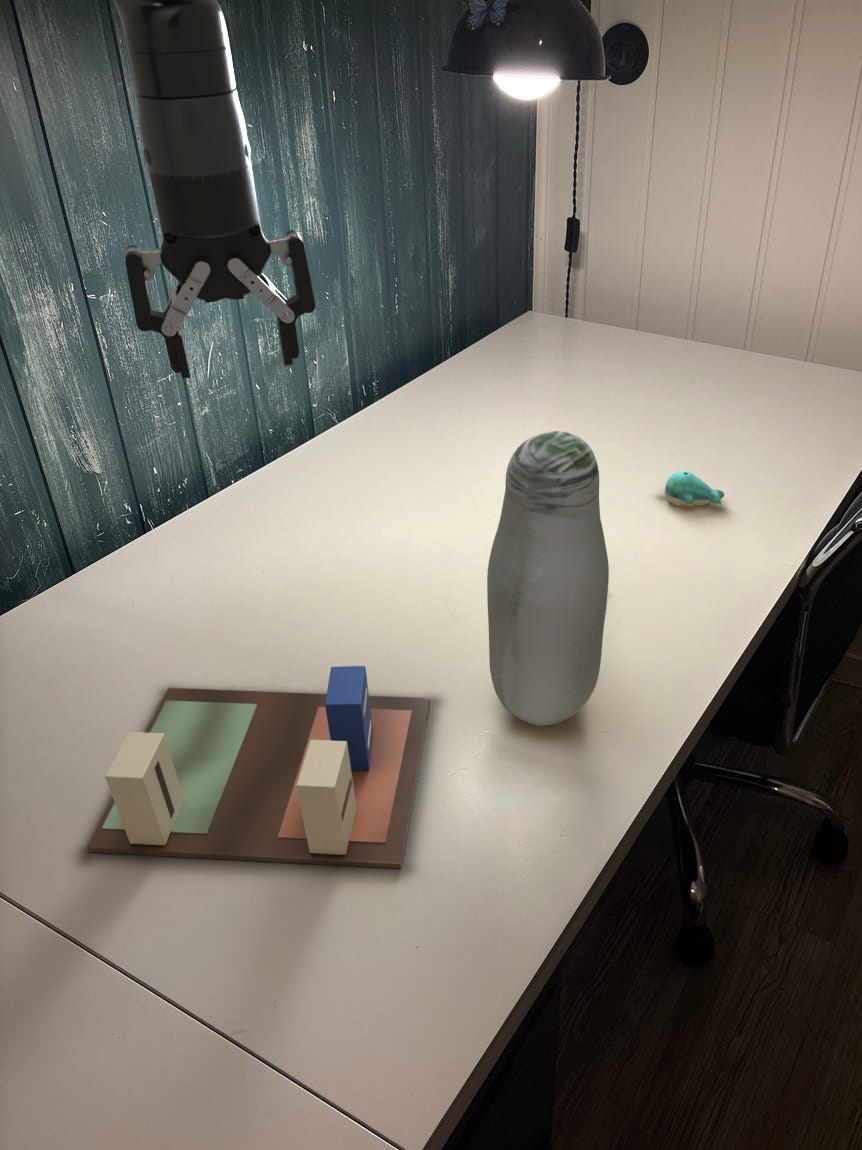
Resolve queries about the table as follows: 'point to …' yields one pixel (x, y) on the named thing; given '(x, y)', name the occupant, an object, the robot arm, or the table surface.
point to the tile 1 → (145, 788)
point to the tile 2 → (327, 796)
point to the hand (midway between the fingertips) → (237, 369)
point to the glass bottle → (548, 581)
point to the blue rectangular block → (350, 713)
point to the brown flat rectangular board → (274, 778)
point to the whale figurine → (690, 490)
